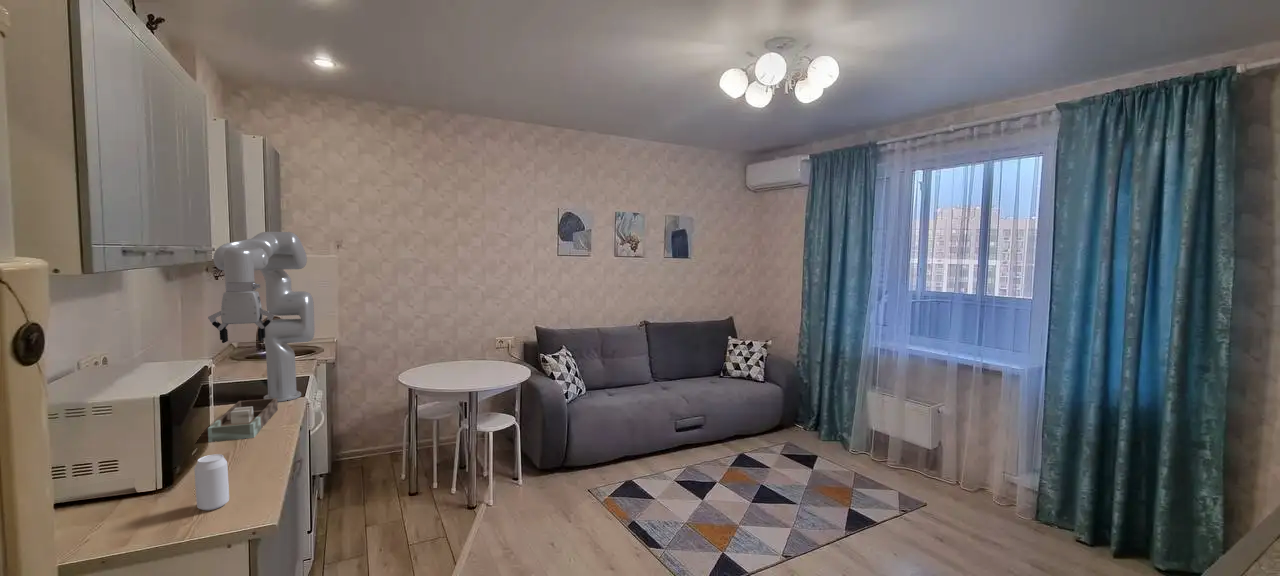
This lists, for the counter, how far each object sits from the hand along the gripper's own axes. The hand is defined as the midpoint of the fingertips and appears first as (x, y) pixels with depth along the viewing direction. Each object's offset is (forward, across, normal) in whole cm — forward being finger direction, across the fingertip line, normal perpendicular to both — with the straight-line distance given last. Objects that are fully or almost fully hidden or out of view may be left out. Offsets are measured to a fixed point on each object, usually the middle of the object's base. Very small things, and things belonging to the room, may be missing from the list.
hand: (243, 341), depth 174 cm
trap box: (+31, +4, -13) cm, 34 cm away
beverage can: (+31, -6, +51) cm, 60 cm away
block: (+29, +4, -10) cm, 30 cm away
